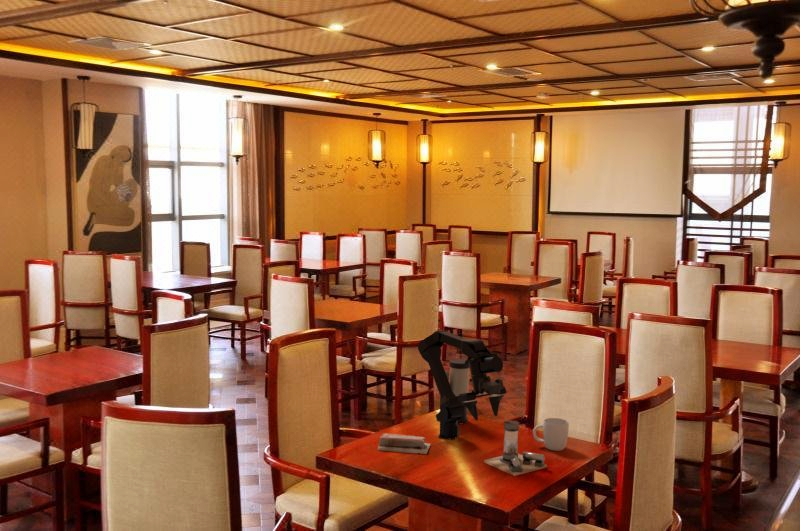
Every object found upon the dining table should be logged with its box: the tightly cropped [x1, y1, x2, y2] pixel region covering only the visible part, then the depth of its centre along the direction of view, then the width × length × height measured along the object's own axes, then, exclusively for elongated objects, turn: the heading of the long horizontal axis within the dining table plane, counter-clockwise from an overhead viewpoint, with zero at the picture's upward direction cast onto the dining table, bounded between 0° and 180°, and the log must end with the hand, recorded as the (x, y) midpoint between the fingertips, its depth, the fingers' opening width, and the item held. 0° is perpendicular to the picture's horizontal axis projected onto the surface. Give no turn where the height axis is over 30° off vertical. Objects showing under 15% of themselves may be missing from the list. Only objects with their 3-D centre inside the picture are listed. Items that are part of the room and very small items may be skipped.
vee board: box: [483, 453, 548, 477], centre depth 260 cm, size 15×15×1 cm
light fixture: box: [439, 358, 470, 424], centre depth 310 cm, size 12×11×25 cm
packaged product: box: [377, 432, 431, 455], centre depth 276 cm, size 18×5×10 cm
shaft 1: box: [508, 454, 523, 472], centre depth 254 cm, size 7×4×4 cm, turn 3°
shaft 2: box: [522, 451, 546, 467], centre depth 259 cm, size 7×4×4 cm, turn 67°
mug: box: [532, 417, 570, 452], centre depth 279 cm, size 13×9×10 cm
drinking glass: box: [502, 420, 520, 462], centre depth 262 cm, size 5×5×13 cm
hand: (486, 418), depth 274 cm, fingers open, 9 cm apart
